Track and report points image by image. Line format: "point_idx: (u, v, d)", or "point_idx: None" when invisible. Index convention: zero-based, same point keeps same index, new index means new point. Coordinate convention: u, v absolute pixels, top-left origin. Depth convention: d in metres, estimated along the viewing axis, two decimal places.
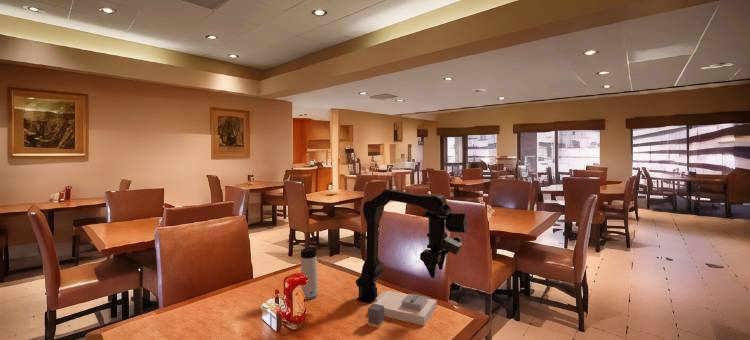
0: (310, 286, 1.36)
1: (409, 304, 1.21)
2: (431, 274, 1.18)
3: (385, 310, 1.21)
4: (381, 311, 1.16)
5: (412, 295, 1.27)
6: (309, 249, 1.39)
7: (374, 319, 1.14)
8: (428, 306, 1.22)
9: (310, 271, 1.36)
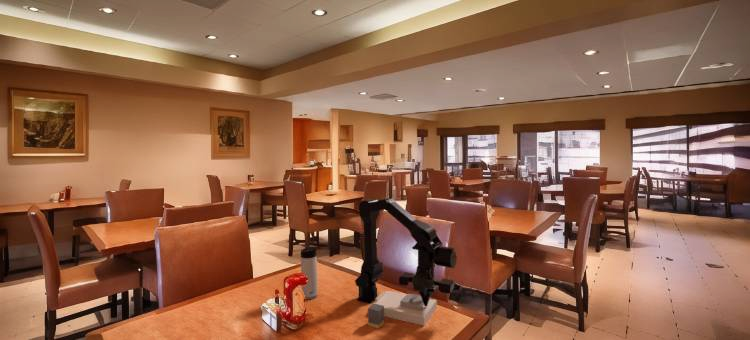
0: (310, 286, 1.36)
1: (408, 303, 1.21)
2: None
3: (385, 310, 1.21)
4: (381, 311, 1.16)
5: (411, 295, 1.27)
6: (309, 249, 1.39)
7: (374, 319, 1.14)
8: (428, 306, 1.22)
9: (310, 271, 1.36)
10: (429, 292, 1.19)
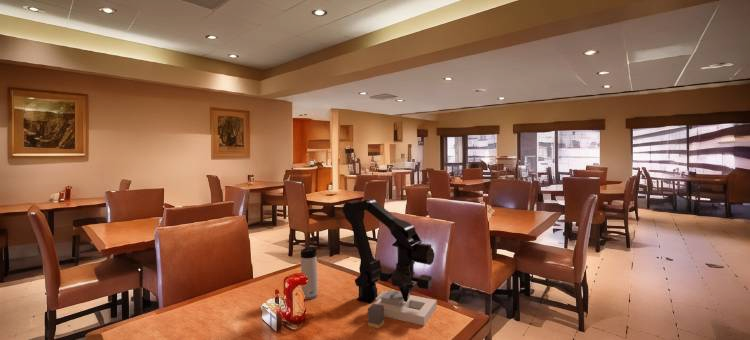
0: (310, 286, 1.36)
1: (388, 299, 1.24)
2: None
3: (385, 310, 1.21)
4: (381, 311, 1.16)
5: (392, 291, 1.31)
6: (309, 249, 1.39)
7: (374, 319, 1.14)
8: (428, 306, 1.22)
9: (310, 271, 1.36)
10: (408, 288, 1.22)
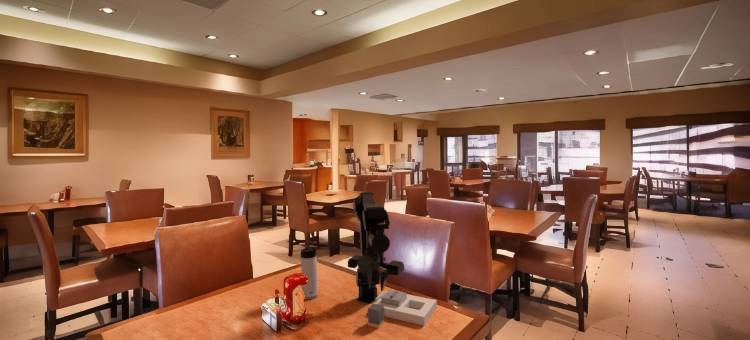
0: (310, 286, 1.36)
1: (388, 299, 1.24)
2: None
3: (385, 310, 1.21)
4: (381, 311, 1.16)
5: (392, 291, 1.31)
6: (309, 249, 1.39)
7: (374, 319, 1.14)
8: (428, 306, 1.22)
9: (310, 271, 1.36)
10: (383, 275, 1.11)
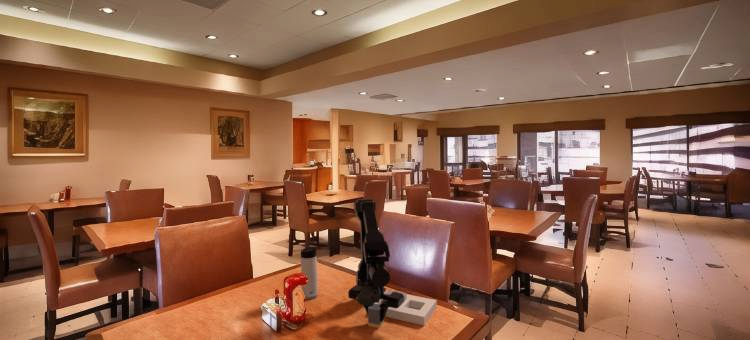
0: (310, 286, 1.36)
1: None
2: None
3: None
4: None
5: (392, 291, 1.31)
6: (309, 249, 1.39)
7: (374, 319, 1.14)
8: (428, 306, 1.22)
9: (310, 271, 1.36)
10: (383, 307, 1.12)
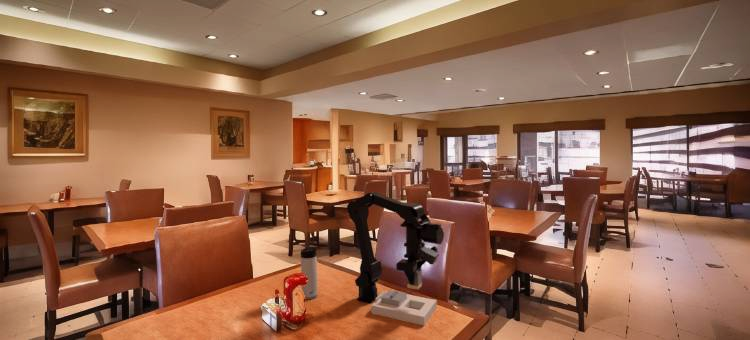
0: (310, 286, 1.36)
1: (388, 299, 1.24)
2: (410, 281, 1.21)
3: (385, 310, 1.21)
4: None
5: (392, 291, 1.31)
6: (309, 249, 1.39)
7: (420, 279, 1.23)
8: (428, 306, 1.22)
9: (310, 271, 1.36)
10: None
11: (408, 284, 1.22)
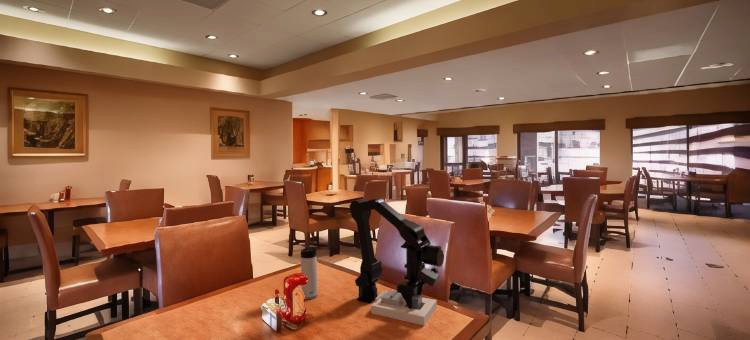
0: (310, 286, 1.36)
1: (388, 299, 1.24)
2: (408, 305, 1.20)
3: (385, 310, 1.21)
4: None
5: (392, 291, 1.31)
6: (309, 249, 1.39)
7: (420, 305, 1.23)
8: (428, 306, 1.22)
9: (310, 271, 1.36)
10: None
11: None
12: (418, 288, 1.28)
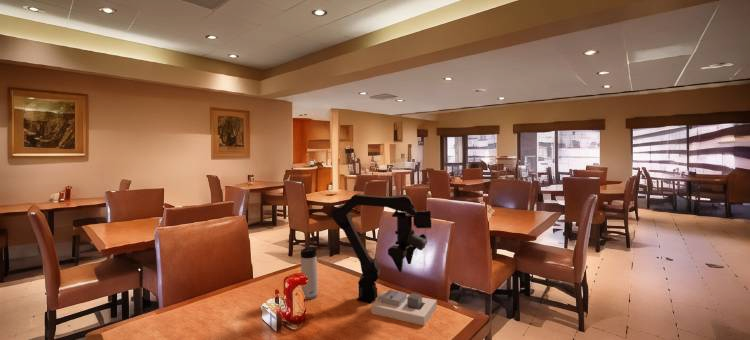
0: (310, 286, 1.36)
1: (388, 299, 1.24)
2: (398, 268, 1.29)
3: (385, 310, 1.21)
4: None
5: (392, 291, 1.31)
6: (309, 249, 1.39)
7: (420, 305, 1.23)
8: (428, 306, 1.22)
9: (310, 271, 1.36)
10: None
11: None
12: (409, 254, 1.37)
